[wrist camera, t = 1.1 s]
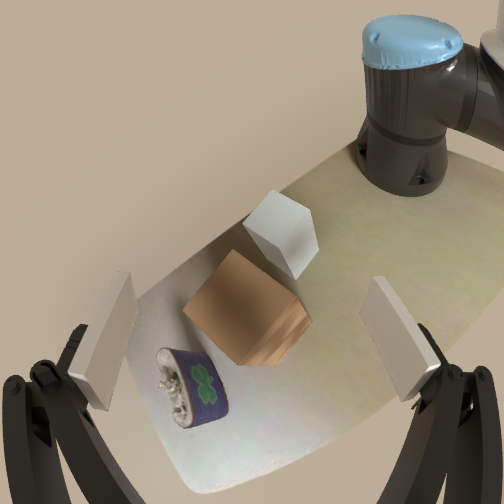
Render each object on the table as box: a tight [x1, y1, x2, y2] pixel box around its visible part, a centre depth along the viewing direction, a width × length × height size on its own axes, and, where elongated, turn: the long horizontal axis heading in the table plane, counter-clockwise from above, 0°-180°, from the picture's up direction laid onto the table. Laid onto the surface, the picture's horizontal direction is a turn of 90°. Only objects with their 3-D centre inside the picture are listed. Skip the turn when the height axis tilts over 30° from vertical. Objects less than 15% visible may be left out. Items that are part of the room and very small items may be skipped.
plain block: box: [182, 249, 312, 367], centre depth 28 cm, size 7×7×13 cm
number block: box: [242, 189, 319, 280], centre depth 32 cm, size 5×5×10 cm
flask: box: [156, 348, 229, 429], centre depth 28 cm, size 9×3×11 cm, turn 23°
